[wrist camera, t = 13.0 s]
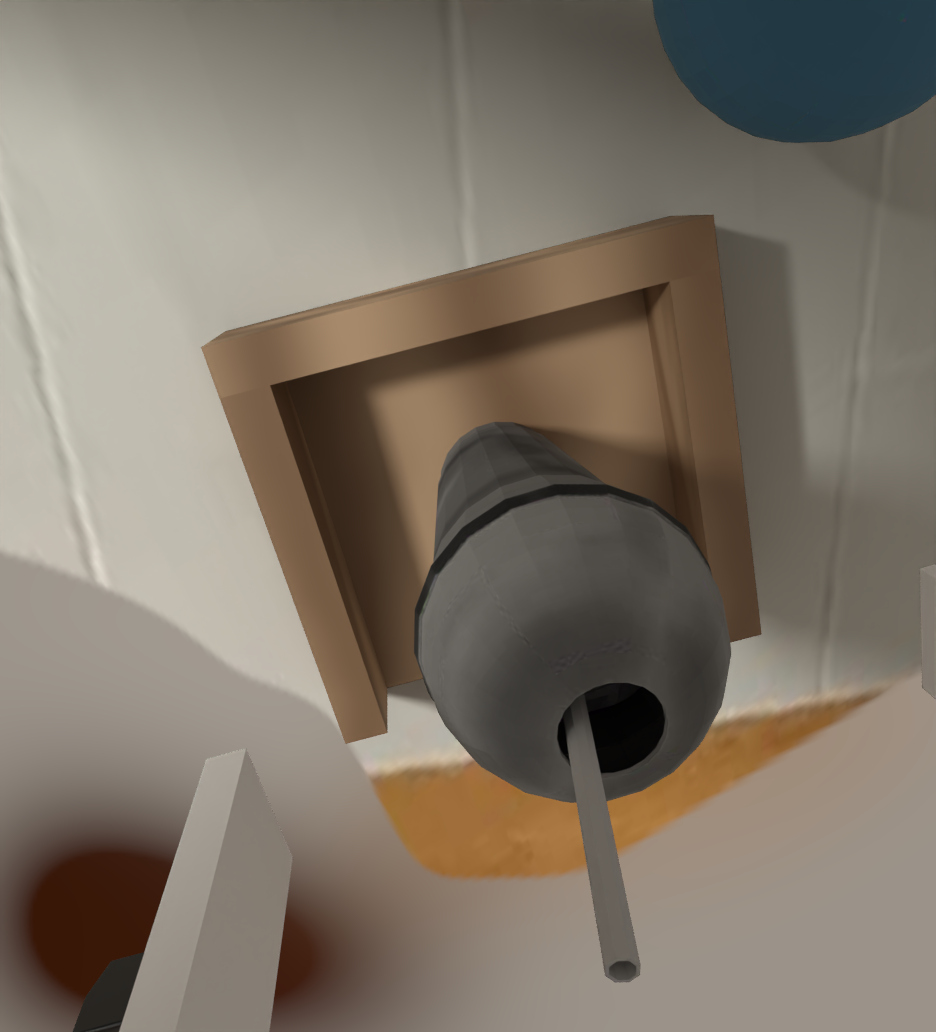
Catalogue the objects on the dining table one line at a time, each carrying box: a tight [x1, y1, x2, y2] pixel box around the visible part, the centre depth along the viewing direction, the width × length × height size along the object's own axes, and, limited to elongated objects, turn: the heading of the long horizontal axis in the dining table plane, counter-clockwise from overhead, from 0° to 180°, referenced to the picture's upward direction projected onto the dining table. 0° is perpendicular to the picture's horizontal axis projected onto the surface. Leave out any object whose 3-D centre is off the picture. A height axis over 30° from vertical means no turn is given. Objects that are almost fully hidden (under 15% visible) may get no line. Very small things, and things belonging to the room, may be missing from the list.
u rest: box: [201, 215, 761, 744], centre depth 28 cm, size 16×15×4 cm
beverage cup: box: [414, 422, 731, 982], centre depth 20 cm, size 7×7×20 cm
